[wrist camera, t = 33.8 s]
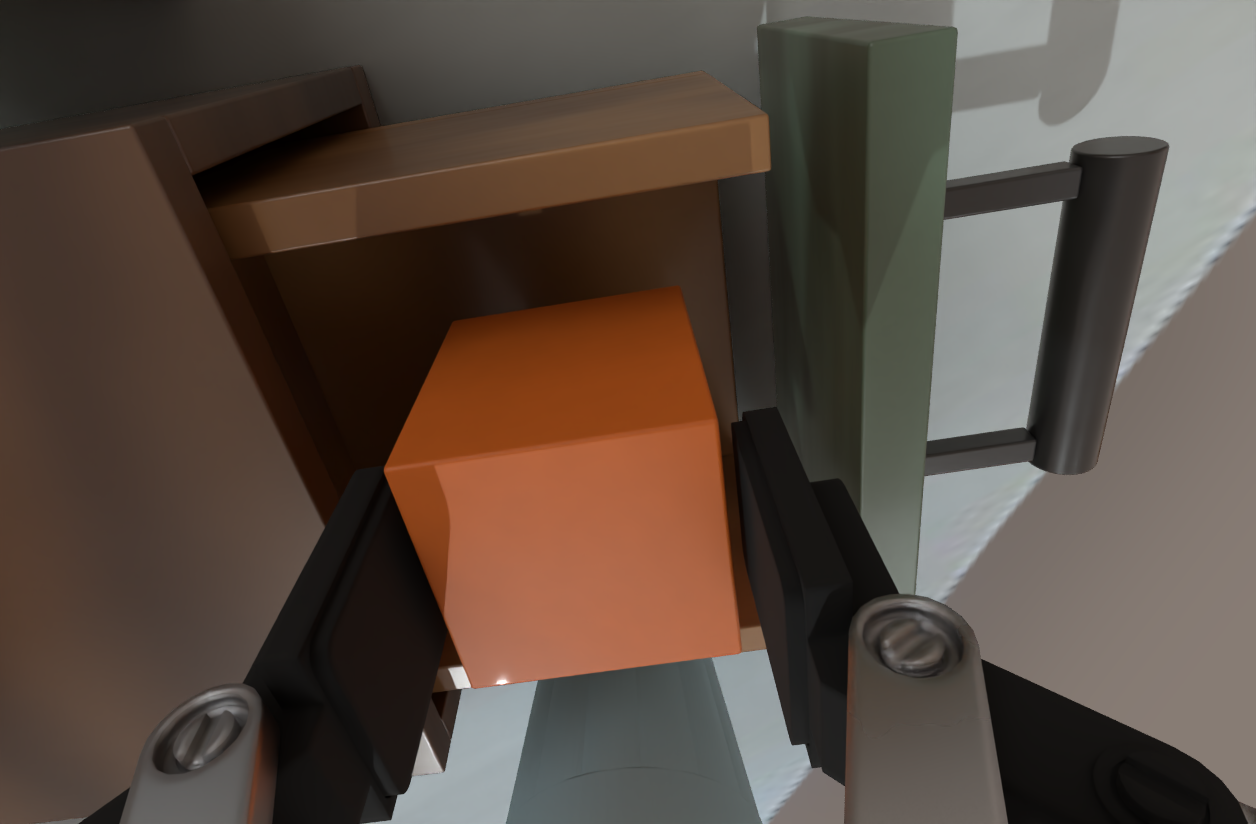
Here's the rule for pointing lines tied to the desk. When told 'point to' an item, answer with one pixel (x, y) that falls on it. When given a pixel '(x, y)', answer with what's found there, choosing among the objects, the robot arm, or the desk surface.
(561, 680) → the cup
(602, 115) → the two-tone handled box
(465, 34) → the desk surface
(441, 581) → the plain orange cube
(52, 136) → the cabinet
